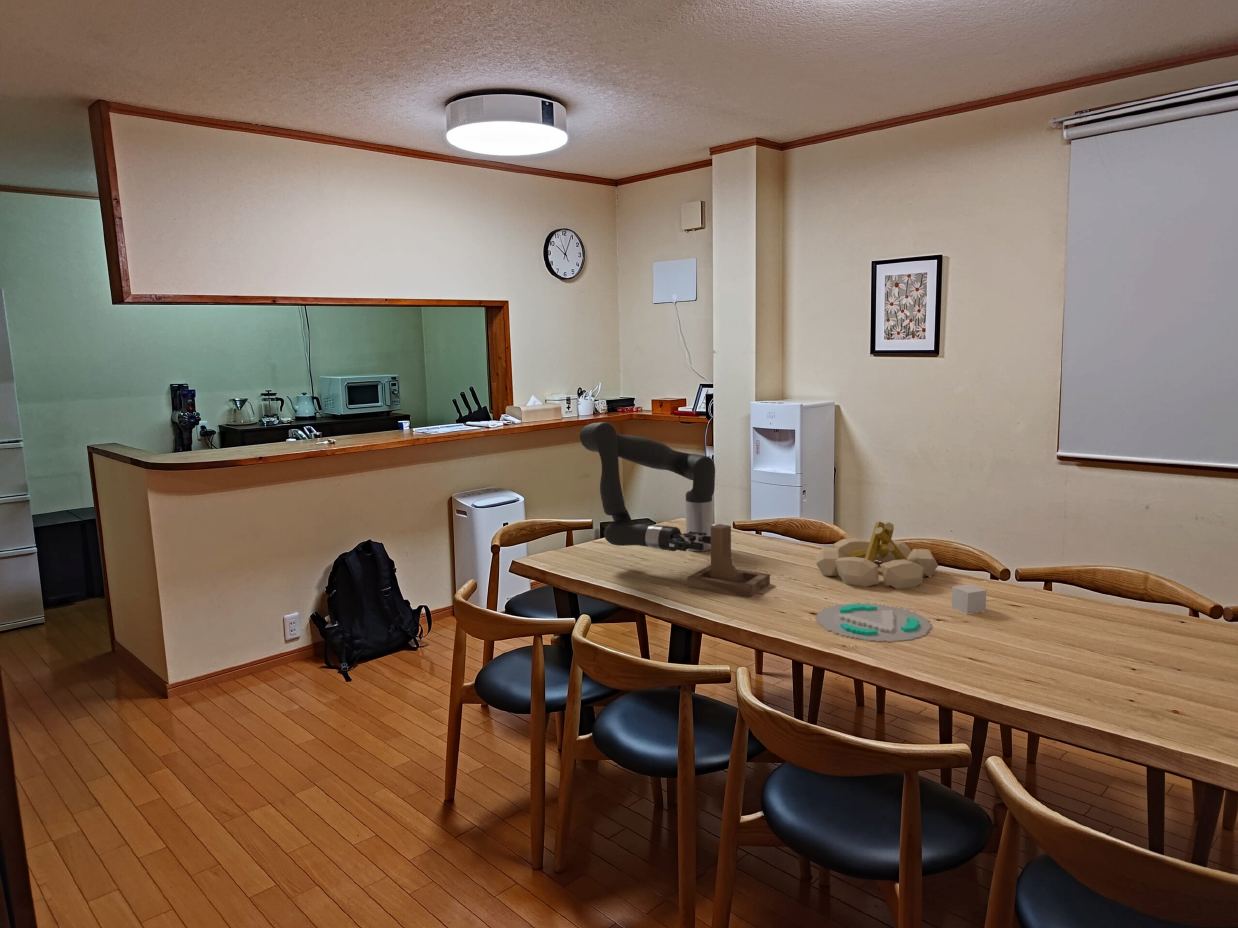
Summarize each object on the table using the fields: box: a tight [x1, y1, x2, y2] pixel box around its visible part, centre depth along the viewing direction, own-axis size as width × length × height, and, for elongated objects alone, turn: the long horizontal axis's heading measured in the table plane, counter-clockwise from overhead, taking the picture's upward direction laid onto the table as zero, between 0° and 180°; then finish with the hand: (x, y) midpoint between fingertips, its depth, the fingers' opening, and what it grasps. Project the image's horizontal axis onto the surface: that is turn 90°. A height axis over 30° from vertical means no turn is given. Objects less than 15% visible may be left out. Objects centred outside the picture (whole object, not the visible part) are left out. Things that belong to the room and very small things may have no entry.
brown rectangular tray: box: [686, 564, 771, 598], centre depth 245 cm, size 15×20×3 cm
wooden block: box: [710, 523, 744, 583], centre depth 243 cm, size 9×4×18 cm, turn 46°
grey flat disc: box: [815, 602, 934, 643], centre depth 211 cm, size 28×28×2 cm
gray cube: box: [950, 583, 987, 615], centre depth 219 cm, size 6×6×6 cm
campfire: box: [815, 521, 939, 590], centre depth 253 cm, size 35×34×17 cm
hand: (709, 543), depth 247 cm, fingers open, 8 cm apart
